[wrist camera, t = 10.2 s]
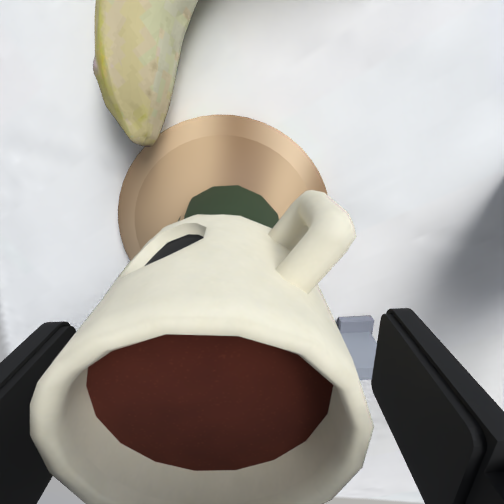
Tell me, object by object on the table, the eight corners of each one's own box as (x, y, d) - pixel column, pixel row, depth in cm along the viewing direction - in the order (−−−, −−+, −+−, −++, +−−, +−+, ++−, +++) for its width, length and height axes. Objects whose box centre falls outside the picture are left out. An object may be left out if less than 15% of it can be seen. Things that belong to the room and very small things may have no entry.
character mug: (231, 117, 15) (192, 101, 3) (332, 194, 17) (535, 359, 5) (137, 269, 19) (-46, 523, 7) (229, 319, 21) (211, 589, 9)
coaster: (335, 109, 16) (339, 108, 15) (322, 307, 21) (324, 312, 21) (97, 120, 16) (91, 120, 15) (144, 316, 21) (141, 322, 20)
